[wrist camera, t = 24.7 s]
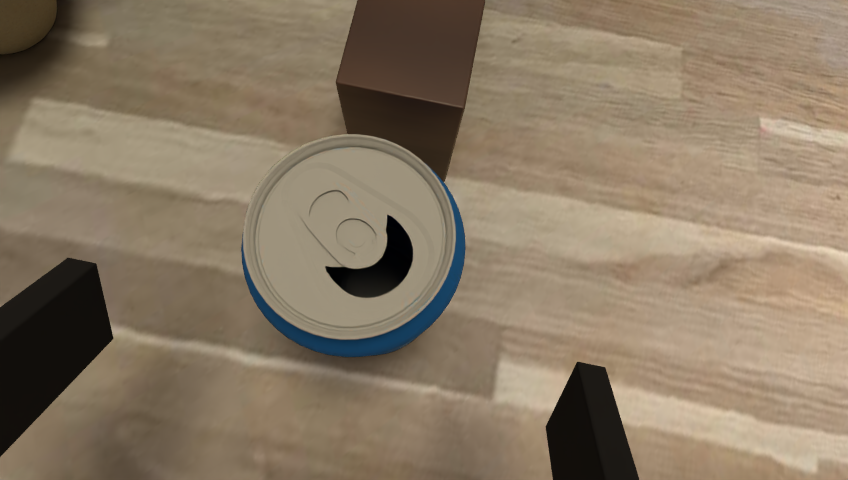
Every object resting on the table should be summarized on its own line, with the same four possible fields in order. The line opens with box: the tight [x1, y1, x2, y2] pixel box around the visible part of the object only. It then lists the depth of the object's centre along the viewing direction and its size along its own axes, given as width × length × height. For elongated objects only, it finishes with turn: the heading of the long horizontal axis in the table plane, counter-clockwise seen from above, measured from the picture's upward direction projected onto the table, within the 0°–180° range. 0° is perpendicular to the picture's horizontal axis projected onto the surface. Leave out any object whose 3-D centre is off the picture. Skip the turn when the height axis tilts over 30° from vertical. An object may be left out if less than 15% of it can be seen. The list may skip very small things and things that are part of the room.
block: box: [336, 0, 485, 182], centre depth 22 cm, size 5×5×8 cm
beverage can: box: [241, 134, 465, 357], centre depth 18 cm, size 6×6×12 cm
